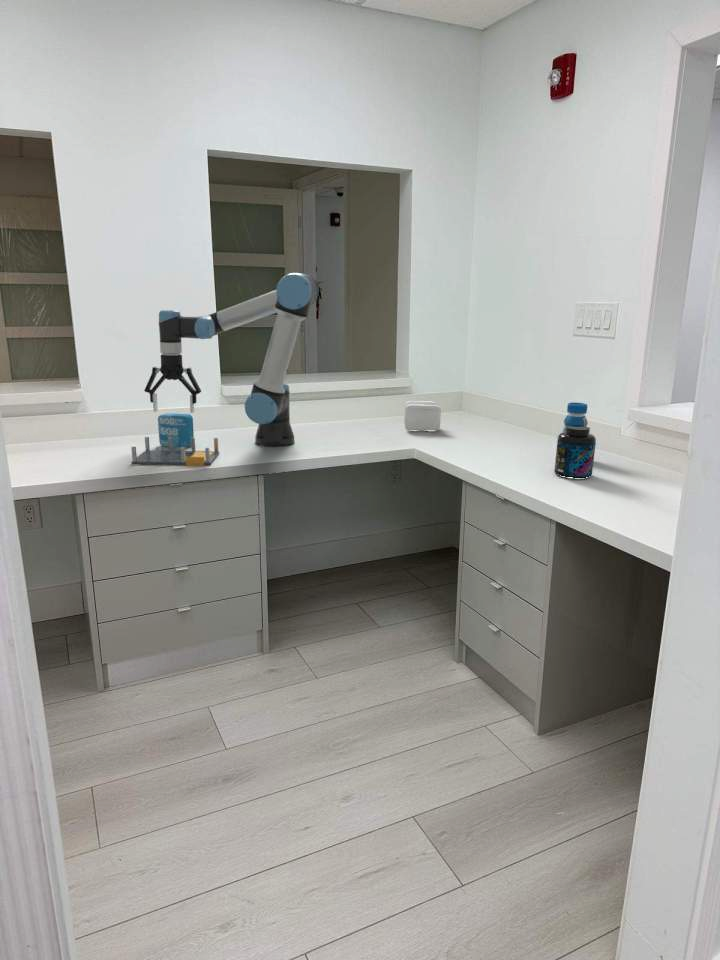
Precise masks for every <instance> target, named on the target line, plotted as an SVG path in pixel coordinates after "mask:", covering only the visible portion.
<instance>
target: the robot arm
mask: <svg viewBox="0 0 720 960" xmlns="http://www.w3.org/2000/svg"><path fill="white" fill-rule="evenodd" d="M319 291H320V289H319V284H318V282H317V281H316V279H315V278H314V277H312V276H311V275H309V274H306V273H299V272H291V273H288V274H286V275H284V276H283V277H281V279H279V281H278V283H277V285H276V289H275V290H272V291H269V292H267V293H264V294H262V295H259V296H257V297H252V298H250V299H248V300H246V301H243V302H239V303H238V304H235V305H233V306H232V305H231V306H230V307H227V308H224V309H221V310H219V311H216V312H213V313H211V314H208V315H201V316H182V315H181V312H180V311H179V310H175V309H174V310H173V309H162V310H160V311H159V312H158V330H159V345H160V346H159V352H160V353H161V355H160V367H158V366H153V367H152V369H151V375H150V377H149V379H148V381H147V383H146V386H145V388H144V392H145V393H148V394H149V400H150V401H149V402H151V403H152V404H153V405H152V406H153V412H154V413H156V412H157V411H159V410H158V393H157V392H156V391H157V390H158V389H159V388H160V386H161V385H162V383H163V382H165V380H167V381H170V380H172V381H177V380H178V381H179V382H180V383H181V384H182V385H183V386H184V387H185V388H186V389H187V391H188V392H189V393H190V395H189V408H190V410H189V411H190V414H193V413H194V412H195V405H196V404H197V402H198V401H197V395H198V394H200V393H201V392H202V389H201V388H200V385H199V384H198V381H197V380H196V378H195V377H194V374H193V371H192V368H191V367H183V355H182V353H183V346H182V339H185V338H186V339H198V340H199V339H200V340H210V339H212V338H213V337H215V336H218V335H219V334H221V333H223V332H226V331H229V330H232V329H235V328H237V327H240V326H243V325H245V324H249V323H250V322H254V321H256V320H259V319H263V318H265V317H268V316H271V315H274V314H276V313H277V314H276V317H275V321H274V325H273V328H272V333H271V336H270V340H269V343H268V347H267V350H266V352H265V353H266V354H265V357H264V360H263V361H264V362H263V365H262V368H261V372H260V376H259V379H256V380H255V381H254V382H253V385H252V388H251V393H250V395H248V397H247V398H246V399H245V402H244V411H245V414H246V416H247V417H248V419H249V420H250V421H252V422H253V423H255V424H257V425H258V427H257V430H256V433H255V437H254V438H255V439H254V441H255V444H257V445H259V446H264V447H283V446H282V445H284V446H289V445H288V444H290V445H292V444H294V443H295V434H294V431H293V429H292V426H291V423H290V416H291V415H290V386H289V384H287V383H284V381H285V378H286V376H287V372H288V368H289V365H290V361H291V359H292V358H291V357H292V355H293V351H294V348H295V345H296V344H295V343H296V341H297V337H298V335H299V334H298V333H299V330H300V327H301V323H302V321H304V320H305V319H307V318H308V316H309V315H308V314H309V310H310V309H311V306H312V305H313V304H315V303H316V301H317V299H318V298H319V297H318V296H319V293H320V292H319ZM158 373H161V374H162V375H161V377H160V378H159V380H158V381H156V383H155V384H154V386H153V383H154V381H155V379H156V377H157V374H158ZM183 373H185V374H186V375H187V377H188V379H189V381H190V383H191V384H192V385H191V384H190V383H189V382H188V381H187V379H186V378H185V376H184V375H183Z"/></svg>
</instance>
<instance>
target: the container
mask: <svg viewBox="0 0 720 960" xmlns="http://www.w3.org/2000/svg"><path fill="white" fill-rule="evenodd" d="M590 431H591V427H588V426H579V425H569V426H566V432H563V431H561V433H559V434H558V436H557V442H556V452H555V453H556V454H555V461H554V473H555V474H556V475H557V474H559V475H561V476H565V477H573V478H586V477H589V476H591V475H593V469H594V461H595V453H596V452H595V451H596V444H597V443H596V442H597V439H596V437H595V435H593V434H592V433H590ZM591 477H592V476H591ZM589 478H590V477H589Z"/></svg>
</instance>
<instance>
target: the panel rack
mask: <svg viewBox="0 0 720 960" xmlns="http://www.w3.org/2000/svg"><path fill="white" fill-rule="evenodd" d="M144 445H145V447H144V448H145V451H143V452H142V453H141V454H139V455H138V454H137V446H131V460H132V461H131V465H132V464H142V466H144V465H145V466H146V465H147V466H148V465H149V466H186V467H190V466H191V467H194V466H195V467H205V466H209V467H210V466H211V465H212V464H213V463H214V462H215V461H216V459H217V458H218V456H219V455H220V451H219V438H218V437H214V438H213V447H214V450H213V451H212V450H210V447H204V448H205V449H204V450H196V437H191V446H190V448H191V450H186V448H185V447H180V450H174V449H173V448H174V447H172V437H168V447H167V448H168V450H161V446H156V447H155V450H151V449H150V448H151V447H150V437H149V436H145V437H144ZM137 455H138V456H137Z"/></svg>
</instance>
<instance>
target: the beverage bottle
mask: <svg viewBox="0 0 720 960" xmlns="http://www.w3.org/2000/svg"><path fill="white" fill-rule="evenodd" d="M566 412H567V415H566V416H565V418H564V420H563V424H564V425H563V427H562V432H566V426H569V425H579V426H586V427H588V423H589V422H588V419H587V417H586V414H587V412H588V404H587V403H585V402H584V403H583V402H575V401H574V402H568V404H567V407H566Z"/></svg>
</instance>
